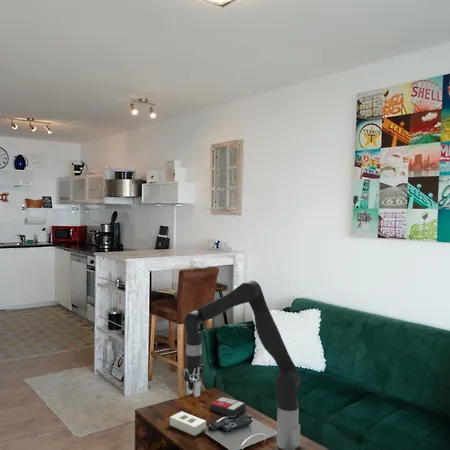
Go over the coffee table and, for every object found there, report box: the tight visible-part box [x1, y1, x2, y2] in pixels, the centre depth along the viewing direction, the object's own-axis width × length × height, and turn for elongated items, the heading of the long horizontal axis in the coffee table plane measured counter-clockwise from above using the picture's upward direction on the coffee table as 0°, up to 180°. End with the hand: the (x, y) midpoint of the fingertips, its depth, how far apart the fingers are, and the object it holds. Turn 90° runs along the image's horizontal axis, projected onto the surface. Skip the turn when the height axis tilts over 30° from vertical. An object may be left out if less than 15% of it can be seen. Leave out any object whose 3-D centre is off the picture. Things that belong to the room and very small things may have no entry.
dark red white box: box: [209, 396, 246, 417], centre depth 236 cm, size 11×4×15 cm
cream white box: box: [169, 411, 207, 436], centre depth 217 cm, size 16×8×4 cm, turn 51°
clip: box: [185, 377, 202, 398], centre depth 219 cm, size 7×3×7 cm, turn 49°
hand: (193, 388), depth 219 cm, fingers closed on clip, 3 cm apart
